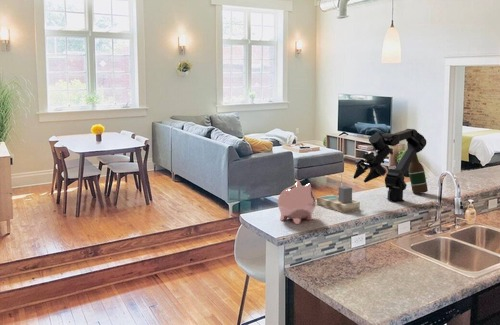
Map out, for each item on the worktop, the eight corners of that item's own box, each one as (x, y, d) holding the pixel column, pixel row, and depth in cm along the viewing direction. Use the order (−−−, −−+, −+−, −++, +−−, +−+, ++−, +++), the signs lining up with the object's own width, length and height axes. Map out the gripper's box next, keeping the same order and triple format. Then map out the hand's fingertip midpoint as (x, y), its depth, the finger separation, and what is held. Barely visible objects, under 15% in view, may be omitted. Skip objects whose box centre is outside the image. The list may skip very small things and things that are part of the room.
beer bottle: (412, 194, 248) (403, 149, 248) (413, 192, 256) (404, 148, 255) (427, 192, 245) (419, 146, 245) (428, 190, 252) (420, 145, 252)
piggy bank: (323, 218, 212) (323, 183, 209) (297, 227, 200) (297, 190, 197) (297, 211, 223) (297, 178, 220) (271, 220, 211) (270, 185, 208)
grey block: (347, 200, 228) (347, 185, 226) (352, 202, 223) (352, 188, 222) (338, 201, 226) (338, 186, 225) (343, 203, 222) (343, 188, 221)
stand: (359, 209, 224) (359, 201, 224) (344, 212, 219) (344, 205, 218) (331, 201, 240) (331, 194, 239) (316, 204, 235) (316, 197, 234)
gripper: (359, 142, 233) (338, 166, 231) (381, 147, 215) (359, 172, 214) (372, 156, 237) (352, 180, 235) (395, 162, 219) (373, 188, 218)
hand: (359, 180), depth 225 cm, fingers open, 9 cm apart
